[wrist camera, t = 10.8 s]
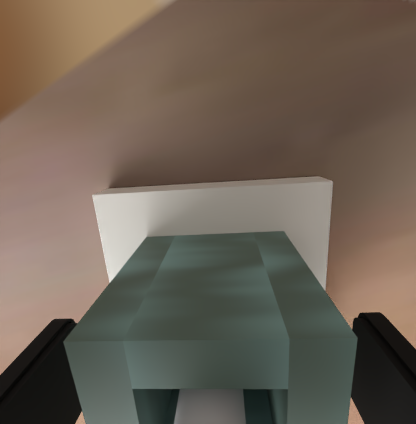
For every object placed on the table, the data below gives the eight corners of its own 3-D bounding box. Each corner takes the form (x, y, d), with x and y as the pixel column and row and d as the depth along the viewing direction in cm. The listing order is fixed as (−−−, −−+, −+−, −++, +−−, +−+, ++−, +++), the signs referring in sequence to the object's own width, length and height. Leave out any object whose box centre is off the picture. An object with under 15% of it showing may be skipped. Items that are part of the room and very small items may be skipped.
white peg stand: (318, 176, 11) (821, 358, 2) (309, 352, 14) (492, 795, 5) (107, 188, 12) (-320, 364, 3) (137, 354, 15) (-17, 739, 5)
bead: (283, 230, 11) (357, 338, 5) (281, 345, 12) (335, 527, 6) (146, 236, 11) (63, 341, 5) (162, 346, 13) (111, 518, 7)
